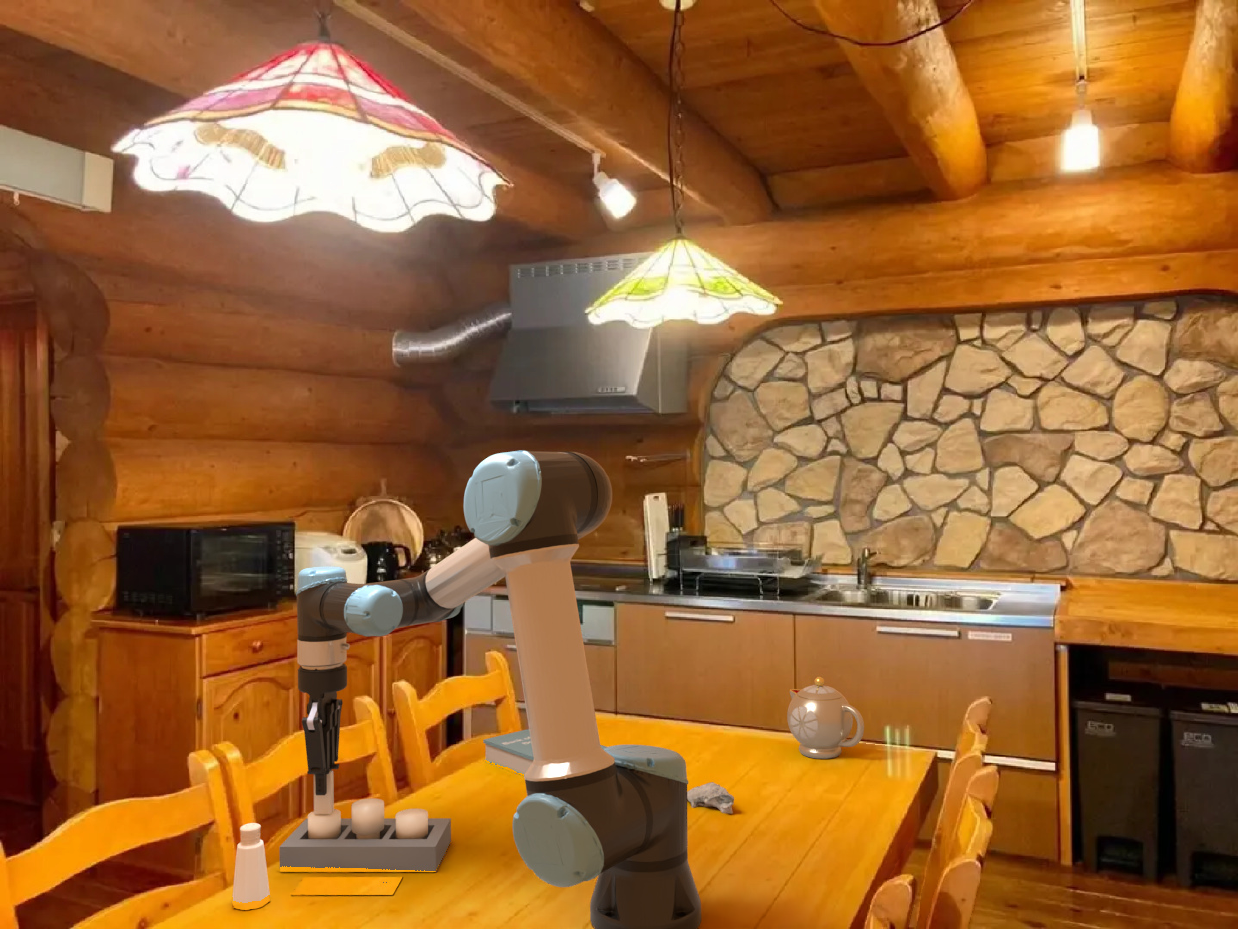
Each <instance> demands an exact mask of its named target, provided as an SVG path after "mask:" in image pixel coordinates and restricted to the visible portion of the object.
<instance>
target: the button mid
mask: <svg viewBox="0 0 1238 929" xmlns="http://www.w3.org/2000/svg"><path fill="white" fill-rule="evenodd" d="M384 818H385V801H384V800H383V799H380V798H373V797H372V798H364V799H359V800H356V801H354V802H352V804H351V819H352V832H353V833H355V834H356V836H357V839H380V831H382V830H383V829H384Z"/></svg>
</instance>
